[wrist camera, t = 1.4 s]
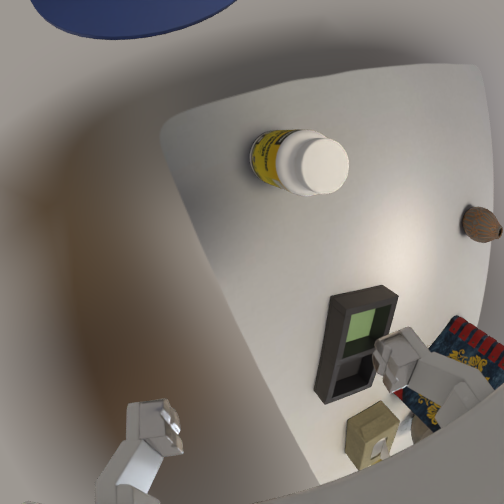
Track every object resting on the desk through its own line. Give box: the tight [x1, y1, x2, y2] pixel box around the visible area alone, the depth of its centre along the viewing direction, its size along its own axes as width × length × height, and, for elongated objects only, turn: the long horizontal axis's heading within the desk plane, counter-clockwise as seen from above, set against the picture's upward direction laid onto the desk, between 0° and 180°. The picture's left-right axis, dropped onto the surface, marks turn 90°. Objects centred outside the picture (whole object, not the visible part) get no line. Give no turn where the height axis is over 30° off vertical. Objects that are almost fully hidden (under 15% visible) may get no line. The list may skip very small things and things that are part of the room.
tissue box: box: [345, 401, 400, 471], centre depth 57 cm, size 19×10×16 cm, turn 12°
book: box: [393, 316, 504, 433], centre depth 51 cm, size 25×7×25 cm, turn 134°
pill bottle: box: [250, 130, 349, 196], centre depth 28 cm, size 6×6×11 cm
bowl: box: [411, 415, 433, 444], centre depth 71 cm, size 19×19×10 cm
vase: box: [463, 207, 503, 243], centre depth 46 cm, size 7×7×9 cm
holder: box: [314, 285, 399, 405], centre depth 46 cm, size 20×10×4 cm, turn 179°
